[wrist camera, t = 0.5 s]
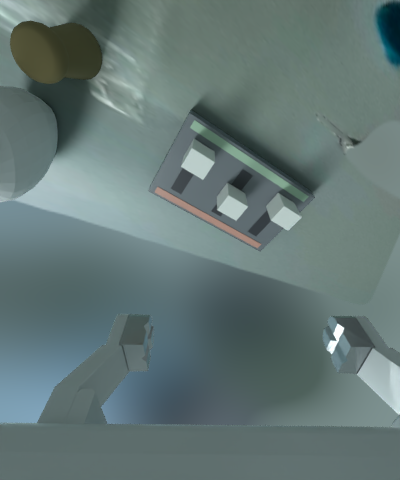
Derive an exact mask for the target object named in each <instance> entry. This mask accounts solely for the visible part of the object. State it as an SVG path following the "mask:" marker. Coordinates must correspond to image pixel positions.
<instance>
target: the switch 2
mask: <svg viewBox="0 0 400 480" xmlns="http://www.w3.org/2000/svg"><path fill="white" fill-rule="evenodd" d="M266 208H267V211H268V214H269V217H270V220H271V221H273V222H274V223H276V224H278V225H279V226H281V227H283V228H284V229H286V230H289V229H290V228H291V227H292V226H293V225H294V224H295V223H296V222H297V221H299V220H300V219H301V218H302V217H301V215H300V213H299V211H298V209H297V207H296V205H295V203H293V202H292V201H290V200H289V199H287V198H286V197H284V196H283V195H281V194H279V193H277V195H276V196H275V197H274V198H273V199H272V200H271V201H270V202H269V203H268V205H267V206H266Z"/></svg>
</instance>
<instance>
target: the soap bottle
mask: <svg viewBox="0 0 400 480" xmlns="http://www.w3.org/2000/svg"><path fill="white" fill-rule="evenodd" d="M57 140H58V128H57V121H56V118H55V114H54V113H53V111H52V109H51V108H50V107H49V106H48V105H47V104H46V103H45V102H44V101H42V100H41V99H40V98H38V97H37V96H35V95H33V94H31V93H29V92H27V91H25V90H23V89H21V88H16V87H4V86H0V202H5V201H10V200H14V199H16V198H18V197H20V196H22V195H23V194H25V193H26V192H28V191H29V190H31V189H32V188H34V187H35V185H36V184H37V183H38V182H39V181H40V180H41V179H42V178H43V177H44V176H45V174H46V173H47V171H48V169H49V167H50V165H51V163H52V161H53V158H54V156H55V153H56V149H57Z"/></svg>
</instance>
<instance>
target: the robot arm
mask: <svg viewBox="0 0 400 480" xmlns="http://www.w3.org/2000/svg"><path fill="white" fill-rule="evenodd" d="M327 323H328V325H329V326H327V327H326V328H324V331H323V341H324V345H325V347H326V349H327V350H328V351H329V352H330V353H331V354H332V357H331V360H332V362H333V364H334V366H335V368H336V370H337V372H338V373H353V374H357V375H358V376H359V377H360V378H361V379H362V380H363V381H364V382H365V383H366V384H367V385H368V386H369V387H370V388H372V389H373V390H374V391H375V392H376V393H377V394H378V395H379V396H380V397H381V398H382V399H383V400H384V401H385V402H386V403H387V404H388V405H389V406H391V408H392V409H393V410H394V411H395V412H397V414H399V416H398V417H397V418H396V419H395V420H394V422H393V423H392V427H336V426H335V427H334V426H331V427H330V426H247V425H156V424H152V425H151V424H107V421H106V419H105V416H104V414H103V411H102V409H101V406H102V405H103V404H104V403H105V401H106V400H107V399H108V398H109V396H110V395H111V394H112V393H113V391H114V390H115V389H116V388H117V386H118V385H119V384H120V383H121V381H122V380H123V379H124V378H125V376H126V375H127V374H128V371H148V368H149V363H150V357H151V356H150V350H151V349H152V347H153V340H154V328H153V326H152V316H151V315H138V314H118V315H117V317H116V319H115V322H114V325H113V327H112V330H111V332H110V335H109V338H108V340H107V343H106V345H102V346H101V347H100V348H99V349H97V350H96V351H95V352H94V353H93V354H92V355H91V356H89V357H88V358H87V359H86V360H85V361H84V362H83V363H82V364H80V365H79V366H78V367H77V368H76V369H75V370H74V371H72V372H71V373H70V374H69V375H68V376H67V377H66V378H64V379H63V380H62V381H61V382H60V383H59V384H58V385H57V386H55V388H54V390H53V392H52V394H51V396H50V398H49V400H48V402H47V404H46V406H45V408H44V410H43V412H42V414H41V416H40V418H39V420H38V422H37V423H0V480H400V353H399V352H397V351H396V350H394V349H393V348H389V347H388V346H387V345H386V344H385V342H384V340H383V339H382V338H381V336H380V335H379V333H378V332H377V331H376V329H375V328H374V326H373V325H372V324H371V322H370V321H369V320H368V318H366V317H363V316H362V317H361V316H353V317H352V316H331V317H329V319H328V321H327Z"/></svg>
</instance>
